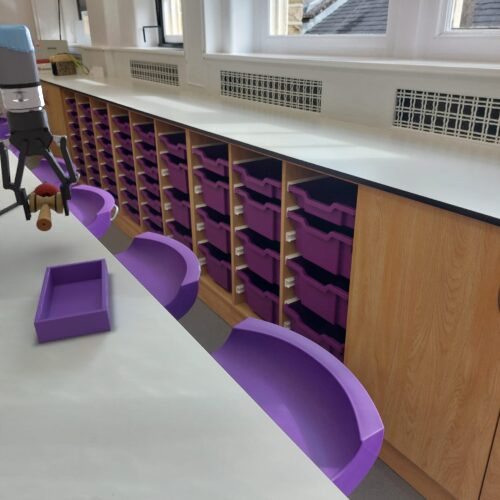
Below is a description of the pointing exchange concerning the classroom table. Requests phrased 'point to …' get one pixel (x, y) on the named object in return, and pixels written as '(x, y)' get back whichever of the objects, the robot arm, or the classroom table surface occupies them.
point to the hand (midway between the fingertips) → (48, 216)
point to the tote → (73, 301)
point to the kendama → (45, 204)
